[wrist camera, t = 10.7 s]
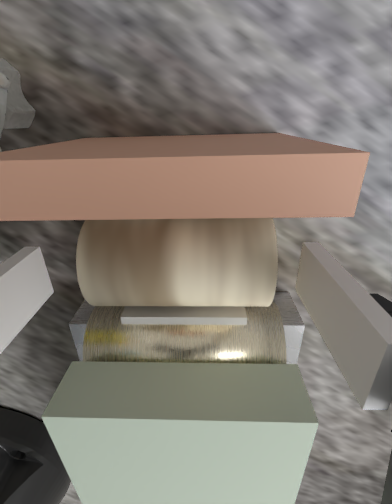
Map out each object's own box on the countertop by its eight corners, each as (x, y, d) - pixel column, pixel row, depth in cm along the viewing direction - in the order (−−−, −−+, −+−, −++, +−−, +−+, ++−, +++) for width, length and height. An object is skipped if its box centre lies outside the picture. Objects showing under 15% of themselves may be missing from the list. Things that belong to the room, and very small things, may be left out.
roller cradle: (137, 292, 18) (122, 328, 15) (118, 172, 15) (95, 187, 12) (239, 292, 18) (246, 328, 15) (246, 169, 14) (257, 184, 11)
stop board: (91, 167, 15) (-34, 221, 7) (85, 137, 14) (-60, 161, 6) (275, 163, 14) (353, 216, 7) (278, 132, 14) (369, 152, 6)
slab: (114, 488, 21) (100, 543, 18) (72, 361, 14) (41, 416, 12) (270, 494, 20) (280, 551, 17) (297, 364, 14) (318, 423, 11)
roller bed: (122, 422, 25) (104, 488, 21) (88, 286, 18) (49, 340, 14) (267, 426, 25) (281, 494, 20) (290, 286, 18) (318, 343, 13)
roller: (119, 270, 18) (92, 326, 14) (104, 199, 15) (64, 241, 11) (254, 269, 18) (269, 327, 13) (261, 196, 15) (283, 239, 11)
